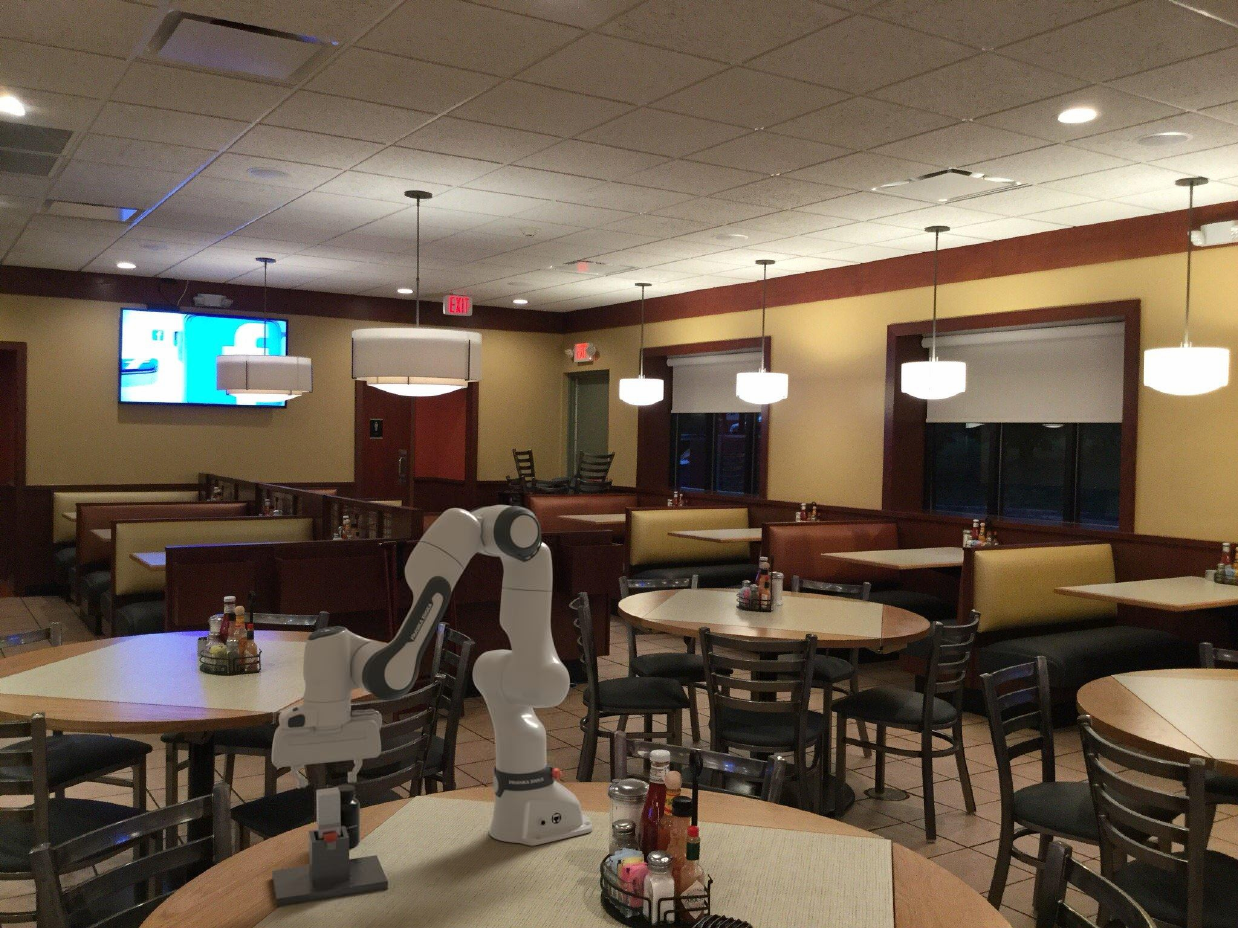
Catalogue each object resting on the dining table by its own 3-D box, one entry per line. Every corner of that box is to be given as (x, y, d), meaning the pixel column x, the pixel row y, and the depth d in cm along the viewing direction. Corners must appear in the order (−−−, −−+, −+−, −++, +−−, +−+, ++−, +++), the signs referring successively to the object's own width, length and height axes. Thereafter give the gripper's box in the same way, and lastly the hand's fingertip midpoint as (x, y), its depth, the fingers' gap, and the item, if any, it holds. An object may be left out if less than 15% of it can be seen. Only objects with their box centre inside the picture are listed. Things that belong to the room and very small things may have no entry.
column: (338, 868, 199) (338, 786, 199) (341, 876, 195) (340, 793, 195) (317, 872, 197) (316, 789, 197) (319, 880, 193) (318, 795, 193)
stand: (376, 862, 206) (376, 810, 206) (387, 888, 193) (387, 833, 193) (272, 878, 199) (271, 824, 199) (276, 906, 186) (276, 849, 186)
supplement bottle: (351, 851, 212) (350, 793, 212) (320, 849, 214) (320, 792, 214) (365, 839, 219) (365, 783, 219) (336, 837, 221) (335, 782, 221)
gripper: (379, 704, 203) (379, 774, 203) (271, 713, 195) (270, 785, 195) (384, 711, 197) (384, 783, 197) (272, 720, 189) (272, 795, 189)
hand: (326, 784), depth 196 cm, fingers open, 8 cm apart
